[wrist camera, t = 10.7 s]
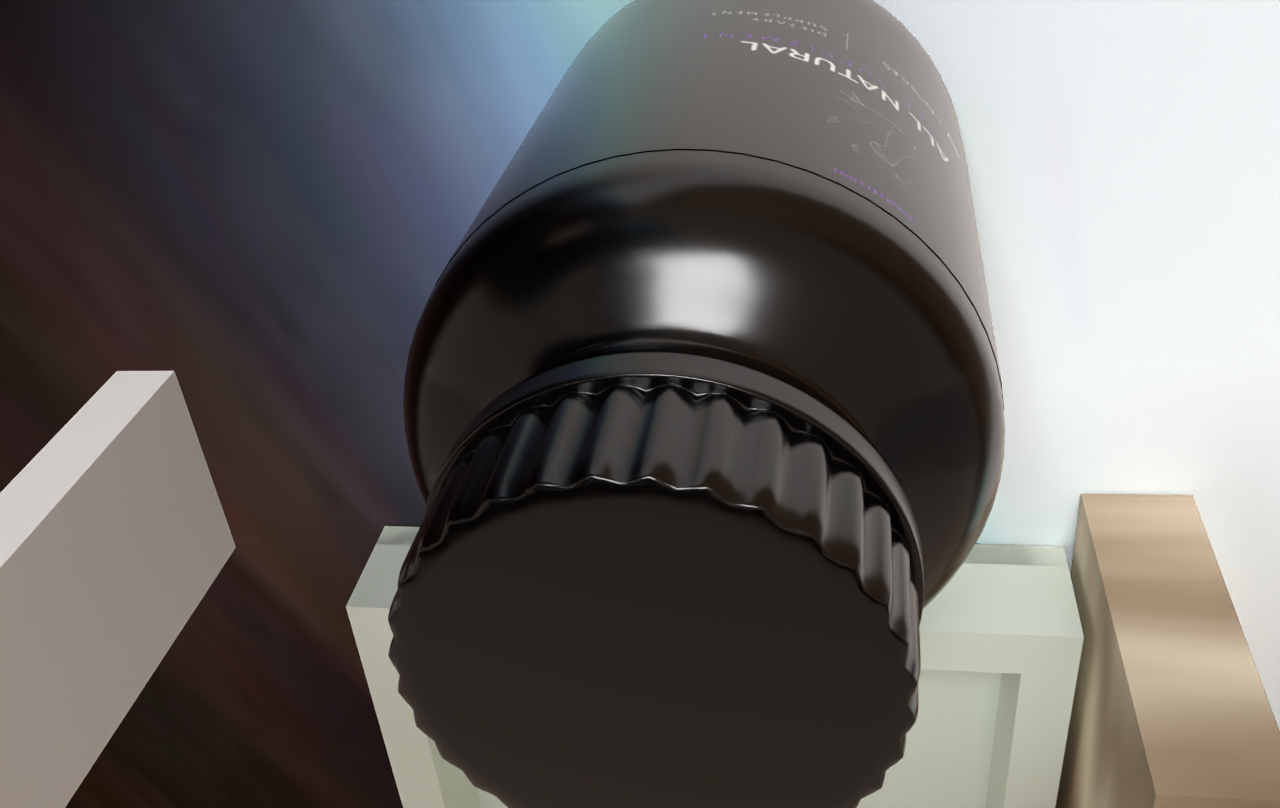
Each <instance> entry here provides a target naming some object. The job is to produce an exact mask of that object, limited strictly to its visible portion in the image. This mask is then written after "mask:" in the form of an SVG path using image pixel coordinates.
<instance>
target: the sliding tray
mask: <svg viewBox="0 0 1280 808" xmlns="http://www.w3.org/2000/svg"><path fill="white" fill-rule="evenodd" d="M419 528H420V527H402V526H385V527H384V529H383V531H382V533H381V535H380V537H379V539H378V541H377V543H376V545H375V547H374V549H373V551H372V554H371V556H370V558H369V560H368V562H367V564H366V566H365V568H364V570H363V572H362V574H361V576H360V578H359V580H358V583H357V585H356V587H355V589H354V591H353V593H352V595H351V597H350V599H349V601H348V603H347V605H346V609H347V612H348V616H349V619H350V623H351V626H352V630H353V634H354V637H355V641H356V644H357V648H358V651H359V655H360V658H361V662H362V665H363V669H364V672H365V676H366V679H367V683H368V686H369V690H370V693H371V697H372V700H373V704H374V707H375V711H376V714H377V718H378V721H379V725H380V728H381V732H382V735H383V739H384V742H385V746H386V749H387V753H388V756H389V760H390V763H391V767H392V770H393V774H394V777H395V781H396V784H397V788H398V791H399V795H400V798H401V802H402V805H403V808H508V807H507V806H505V805H504V804H503V803H502V802H501V801H500V800H499V799H498V798H497V797H496V796H494V795H492V794H490V793H488V792H485V791H483V790H481V789H479V788H476V787H474V786H473V784H472V783H471V782H470V781H469V779H468V778H467V777H466V775H465V774H464V772H463V771H462V770H460V769H459V768H457V767H456V766H454V765H452V764H450V763H449V762H447V761H446V760H444V759H443V758H442V757H441V755H440V753H439V751H438V749H437V747H436V744H435V742H434V741H433V740H432V739H431V738H430V737H428V736H427V735H426V734H424V733H423V732H422V731H421V730H420V729H419V728H418V727H416V723H415V719H414V712H413V709H412V708H411V707H410V706H409V704H408V703H407V702H406V701H405V700H404V699H403V697H402V696H401V695H400V694H399V693H398V682H399V676H400V675H399V673H398V671H397V670H396V668H395V667H394V665H393V664H392V662H391V660H390V658H389V656H388V654H389V649H390V644H391V641H392V638H393V632H392V631H391V629H390V625H389V621H388V615H389V610H390V606H391V603H392V601H393V599H394V596H395V594H396V592H397V590H398V578H399V573H400V569H401V567H402V564H403V562H404V560H405V558H406V556H407V553H408V551H409V549H410V547H411V545H412V543H413V541H414V539H415V537H416V534H417V532H418V530H419ZM919 631H920V655H921V670H920V676H919V681H918V696H919V707H918V714H917V719H916V722H915V724H914V725H913V726H912V728H911V729H910V731H909V732H907V733H906V747H905V752H904V756H903V758H902V759H901V760H899V761H898V762H897V763H896V764H895V765H893V766H891V767H890V768H889V769H888V770H887V771H886V774H885V779H884V782H883V786H882V788H881V789H879V790H878V791H876V792H874V793H872V794H870V795H868V796H866V797H864V798H862V799H861V800H860V802H859V804H858V806H857V808H1055V806H1056V800H1057V794H1058V789H1059V783H1060V777H1061V771H1062V765H1063V759H1064V753H1065V747H1066V741H1067V735H1068V729H1069V723H1070V717H1071V711H1072V705H1073V699H1074V693H1075V687H1076V681H1077V675H1078V669H1079V663H1080V658H1081V652H1082V646H1083V640H1084V635H1083V631H1082V626H1081V622H1080V617H1079V612H1078V608H1077V603H1076V599H1075V594H1074V590H1073V585H1072V581H1071V576H1070V571H1069V567H1068V562H1067V558H1066V553H1065V549H1064V546H1032V545H999V544H975V545H974V547H973V549H972V550H971V552H970V554H969V556H968V557H967V559H966V560H965V562H964V563H963V564H962V566H961V567H960V568H959V570H958V571H957V573H956V574H955V575H954V577H953V578H952V579H951V581H950V582H949V583H948V584H947V585H946V586H945V587H944V589H943V590H942V591H941V592H940V593H939V594H938V595H937V596H936V597H935V598H934V600H933V601H932V602H930V603H929V604H928V605H927V606H926V607H925V608H924V609H923V611H922V617H921V622H920V626H919Z"/></svg>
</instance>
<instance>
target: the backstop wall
mask: <svg viewBox="0 0 1280 808" xmlns="http://www.w3.org/2000/svg"><path fill="white" fill-rule="evenodd" d="M1071 581H1072V585H1073V590H1074V594H1075V599H1076V603H1077V608H1078V612H1079V617H1080V622H1081V626H1082V631H1083V635H1084V640H1083V646H1082V652H1081V658H1080V663H1079V669H1078V675H1077V681H1076V687H1075V693H1074V699H1073V705H1072V711H1071V717H1070V723H1069V729H1068V735H1067V741H1066V747H1065V753H1064V759H1063V765H1062V771H1061V777H1060V783H1059V789H1058V794H1057V800H1056V806H1055V808H1280V731H1279V728H1278V725H1277V723H1276V720H1275V717H1274V715H1273V712H1272V709H1271V706H1270V704H1269V701H1268V698H1267V696H1266V693H1265V690H1264V688H1263V685H1262V682H1261V679H1260V677H1259V674H1258V671H1257V669H1256V666H1255V663H1254V660H1253V658H1252V655H1251V652H1250V650H1249V647H1248V644H1247V641H1246V639H1245V636H1244V633H1243V631H1242V628H1241V625H1240V623H1239V620H1238V617H1237V614H1236V612H1235V609H1234V606H1233V604H1232V601H1231V598H1230V595H1229V593H1228V590H1227V587H1226V585H1225V582H1224V579H1223V576H1222V574H1221V571H1220V568H1219V566H1218V563H1217V560H1216V558H1215V555H1214V552H1213V549H1212V547H1211V544H1210V541H1209V539H1208V536H1207V533H1206V530H1205V528H1204V525H1203V522H1202V520H1201V517H1200V514H1199V511H1198V509H1197V506H1196V503H1195V501H1194V498H1193V495H1117V494H1081V498H1080V506H1079V514H1078V522H1077V530H1076V538H1075V545H1074V553H1073V561H1072V569H1071Z"/></svg>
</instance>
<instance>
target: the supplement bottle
mask: <svg viewBox="0 0 1280 808" xmlns="http://www.w3.org/2000/svg"><path fill="white" fill-rule="evenodd" d="M403 403H404V419H405V432H406V437H407V443H408V449H409V455H410V459H411V462H412V466H413V469H414V473H415V476H416V480H417V483H418V486H419V488H420V491H421V493H422V496H423V498H424V501H425V503H426V508H425V512H424V517H423V522H422V524H421V526H420V528H419V530H418V532H417V534H416V537H415V539H414V541H413V543H412V545H411V547H410V549H409V551H408V553H407V556H406V558H405V560H404V562H403V564H402V567H401V569H400V573H399V578H398V590H397V592H396V594H395V596H394V599H393V601H392V603H391V606H390V610H389V615H388V621H389V625H390V629H391V631H392V632H393V638H392V641H391V644H390V649H389V654H388V656H389V658H390V660H391V662H392V664H393V665H394V667H395V668H396V670H397V671H398V673H399V675H400V676H399V682H398V693H399V694H400V695H401V696H402V697H403V699H404V700H405V701H406V702H407V703H408V704H409V706H410V707H411V708H412V709H413V712H414V719H415V723H416V727H418V728H419V729H420V730H421V731H422V732H423V733H424V734H426V735H427V736H428V737H430V738H431V739H432V740H433V741H434V742H435V744H436V747H437V749H438V751H439V753H440V755H441V757H442V758H443V759H444V760H446V761H447V762H449V763H450V764H452V765H454V766H456V767H457V768H459V769H460V770H462V771H463V772H464V774H465V775H466V777H467V778H468V779H469V781H470V782H471V783H472V784H473V786H474V787H476V788H479V789H481V790H483V791H485V792H488V793H490V794H492V795H494V796H496V797H497V798H498V799H499V800H500V801H501V802H502V803H503V804H504V805H505V806H507V807H508V808H857V806H858V804H859V802H860V800H861V799H862V798H864V797H866V796H868V795H870V794H872V793H874V792H876V791H878V790H879V789H881V788H882V786H883V782H884V779H885V774H886V771H887V770H888V769H889V768H890V767H891V766H893V765H895V764H896V763H897V762H898V761H899V760H901V759H902V758H903V756H904V752H905V747H906V733H907V732H909V731H910V729H911V728H912V726H913V725H914V724H915V722H916V719H917V714H918V707H919V696H918V681H919V676H920V670H921V655H920V631H919V626H920V622H921V617H922V611H923V609H924V608H925V607H926V606H927V605H928V604H929V603H930V602H932V601H933V600H934V598H935V597H936V596H937V595H938V594H939V593H940V592H941V591H942V590H943V589H944V587H945V586H946V585H947V584H948V583H949V582H950V581H951V579H952V578H953V577H954V575H955V574H956V573H957V571H958V570H959V568H960V567H961V566H962V564H963V563H964V562H965V560H966V559H967V557H968V556H969V554H970V552H971V550H972V549H973V547H974V545H975V543H976V542H977V540H978V538H979V536H980V535H981V533H982V531H983V528H984V526H985V524H986V521H987V519H988V517H989V514H990V512H991V510H992V506H993V503H994V499H995V496H996V492H997V489H998V485H999V482H1000V477H1001V470H1002V464H1003V458H1004V435H1005V425H1004V405H1003V394H1002V383H1001V376H1000V369H999V363H998V356H997V350H996V344H995V337H994V331H993V325H992V319H991V313H990V306H989V300H988V294H987V288H986V281H985V275H984V269H983V263H982V256H981V250H980V244H979V238H978V232H977V225H976V219H975V213H974V207H973V200H972V194H971V188H970V182H969V176H968V169H967V163H966V157H965V153H964V148H963V143H962V138H961V134H960V130H959V125H958V120H957V116H956V113H955V110H954V107H953V104H952V101H951V98H950V96H949V93H948V91H947V89H946V87H945V84H944V82H943V80H942V78H941V76H940V74H939V72H938V70H937V69H936V67H935V65H934V63H933V62H932V60H931V58H930V57H929V55H928V54H927V53H926V51H925V50H924V49H923V47H922V46H921V45H920V43H919V42H918V41H917V39H916V38H915V37H914V36H913V35H912V34H911V33H910V32H909V31H908V30H907V28H906V27H905V26H904V25H903V24H902V23H901V22H900V21H898V20H897V19H896V18H895V17H894V16H893V15H892V14H890V13H889V12H888V11H887V10H886V9H884V8H883V7H881V6H880V5H879V4H877V3H876V2H874V1H873V0H633V1H632V2H631V3H629V4H628V5H626V6H625V7H623V8H622V9H621V10H620V11H619V12H618V13H616V14H615V15H614V16H613V17H612V18H611V19H610V20H608V21H607V22H606V23H605V24H604V25H603V26H602V27H601V28H600V29H599V31H598V32H597V33H596V34H595V35H594V36H593V37H592V38H591V39H590V40H589V42H588V43H587V44H586V46H585V47H584V48H583V49H582V51H581V52H580V53H579V55H578V56H577V58H576V59H575V60H574V62H573V63H572V65H571V66H570V68H569V69H568V71H567V72H566V73H565V75H564V77H563V78H562V80H561V81H560V83H559V85H558V86H557V88H556V89H555V91H554V93H553V94H552V96H551V97H550V99H549V101H548V102H547V104H546V106H545V107H544V109H543V110H542V112H541V114H540V115H539V117H538V118H537V120H536V122H535V123H534V125H533V127H532V128H531V130H530V131H529V133H528V135H527V136H526V138H525V139H524V141H523V143H522V144H521V146H520V148H519V149H518V151H517V152H516V154H515V156H514V157H513V159H512V160H511V162H510V164H509V165H508V167H507V168H506V170H505V172H504V173H503V175H502V177H501V178H500V180H499V181H498V183H497V185H496V186H495V188H494V189H493V191H492V193H491V194H490V196H489V198H488V199H487V201H486V202H485V204H484V206H483V207H482V209H481V210H480V212H479V214H478V215H477V217H476V219H475V220H474V222H473V223H472V225H471V227H470V228H469V230H468V231H467V233H466V235H465V236H464V238H463V240H462V241H461V243H460V244H459V246H458V248H457V249H456V251H455V253H454V254H453V256H452V258H451V259H450V261H449V263H448V264H447V266H446V268H445V269H444V271H443V273H442V274H441V276H440V278H439V279H438V281H437V283H436V285H435V287H434V289H433V291H432V293H431V295H430V297H429V300H428V302H427V304H426V306H425V309H424V311H423V313H422V315H421V317H420V320H419V322H418V324H417V327H416V330H415V334H414V337H413V340H412V343H411V347H410V351H409V356H408V362H407V367H406V373H405V384H404V401H403Z"/></svg>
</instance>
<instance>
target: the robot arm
mask: <svg viewBox="0 0 1280 808" xmlns="http://www.w3.org/2000/svg"><path fill="white" fill-rule="evenodd" d="M235 548H236V547H235V544H234V541H233V538H232V535H231V532H230V529H229V526H228V524H227V521H226V518H225V515H224V512H223V509H222V506H221V503H220V501H219V498H218V495H217V492H216V489H215V486H214V483H213V481H212V478H211V475H210V472H209V469H208V466H207V463H206V460H205V458H204V455H203V452H202V449H201V446H200V443H199V440H198V437H197V435H196V432H195V429H194V426H193V423H192V420H191V417H190V415H189V412H188V409H187V406H186V403H185V400H184V397H183V394H182V392H181V389H180V386H179V383H178V380H177V377H176V374H175V371H116V373H115V374H114V375H113V376H112V377H111V378H110V379H109V380H108V381H107V382H106V383H105V384H104V385H103V386H102V387H101V388H100V389H99V390H98V391H97V392H96V393H95V394H94V396H93V397H92V398H91V399H90V400H89V401H88V402H87V403H86V404H85V405H84V406H83V407H82V408H81V409H80V410H79V411H78V412H77V413H76V414H75V415H74V416H73V417H72V419H71V420H70V421H69V422H68V423H67V424H66V425H65V426H64V427H63V428H62V429H61V430H60V431H59V432H58V433H57V434H56V435H55V436H54V437H53V438H52V439H51V440H50V441H49V443H48V444H47V445H46V446H45V447H44V448H43V449H42V450H41V451H40V452H39V453H38V454H37V455H36V456H35V457H34V458H33V459H32V460H31V461H30V462H29V463H28V464H27V466H26V467H25V468H24V469H23V470H22V471H21V472H20V473H19V474H18V475H17V476H16V477H15V478H14V479H13V480H12V481H11V482H10V483H9V484H8V485H7V486H6V487H5V489H4V490H3V491H2V492H1V493H0V808H65V807H66V805H67V804H68V802H69V801H70V799H71V798H72V796H73V795H74V793H75V792H76V790H77V789H78V787H79V786H80V784H81V783H82V781H83V780H84V778H85V776H86V775H87V773H88V772H89V770H90V769H91V767H92V766H93V764H94V763H95V761H96V760H97V758H98V757H99V755H100V754H101V752H102V751H103V749H104V747H105V746H106V744H107V743H108V741H109V740H110V738H111V737H112V735H113V734H114V732H115V731H116V729H117V728H118V726H119V725H120V723H121V722H122V720H123V719H124V717H125V715H126V714H127V712H128V711H129V709H130V708H131V706H132V705H133V703H134V702H135V700H136V699H137V697H138V696H139V694H140V693H141V691H142V690H143V688H144V686H145V685H146V683H147V682H148V680H149V679H150V677H151V676H152V674H153V673H154V671H155V670H156V668H157V667H158V665H159V664H160V662H161V661H162V659H163V657H164V656H165V654H166V653H167V651H168V650H169V648H170V647H171V645H172V644H173V642H174V641H175V639H176V638H177V636H178V635H179V633H180V632H181V630H182V628H183V627H184V625H185V624H186V622H187V621H188V619H189V618H190V616H191V615H192V613H193V612H194V610H195V609H196V607H197V606H198V604H199V603H200V601H201V599H202V598H203V596H204V595H205V593H206V592H207V590H208V589H209V587H210V586H211V584H212V583H213V581H214V580H215V578H216V577H217V575H218V574H219V572H220V571H221V569H222V567H223V566H224V564H225V563H226V561H227V560H228V558H229V557H230V555H231V554H232V552H233V551H234V549H235Z"/></svg>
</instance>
